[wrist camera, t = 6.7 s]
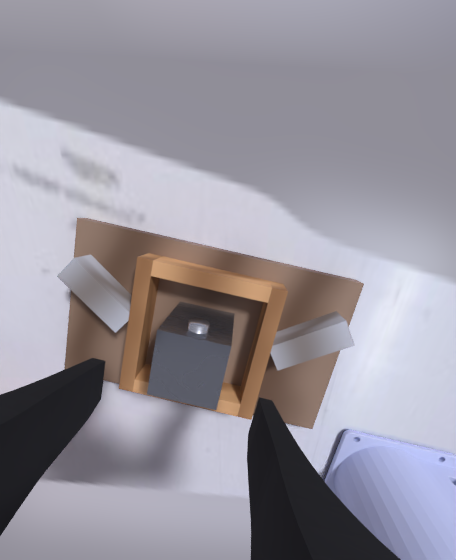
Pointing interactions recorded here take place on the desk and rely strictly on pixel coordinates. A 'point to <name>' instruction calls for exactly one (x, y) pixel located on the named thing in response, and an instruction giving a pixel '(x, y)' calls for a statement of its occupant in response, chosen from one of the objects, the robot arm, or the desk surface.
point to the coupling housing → (213, 294)
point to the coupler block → (191, 355)
